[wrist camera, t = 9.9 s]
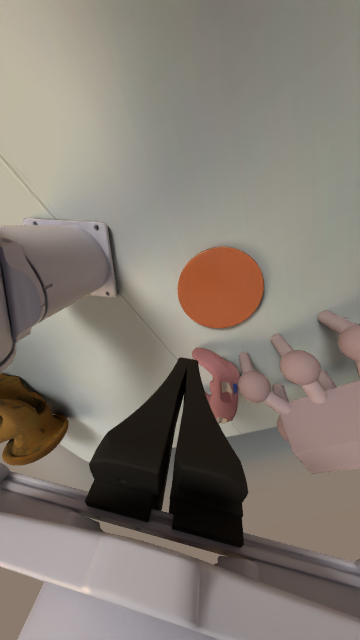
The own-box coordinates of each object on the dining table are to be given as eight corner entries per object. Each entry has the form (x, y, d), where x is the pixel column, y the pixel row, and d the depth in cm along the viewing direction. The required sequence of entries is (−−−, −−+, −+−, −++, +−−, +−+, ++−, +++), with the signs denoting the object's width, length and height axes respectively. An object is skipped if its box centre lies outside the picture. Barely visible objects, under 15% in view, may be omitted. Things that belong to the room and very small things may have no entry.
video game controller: (215, 388, 28) (240, 430, 23) (189, 395, 27) (208, 442, 21) (220, 339, 24) (254, 376, 18) (189, 346, 23) (214, 387, 17)
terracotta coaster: (176, 321, 22) (176, 323, 21) (180, 243, 17) (179, 244, 17) (250, 330, 21) (251, 332, 20) (274, 249, 16) (276, 250, 16)
